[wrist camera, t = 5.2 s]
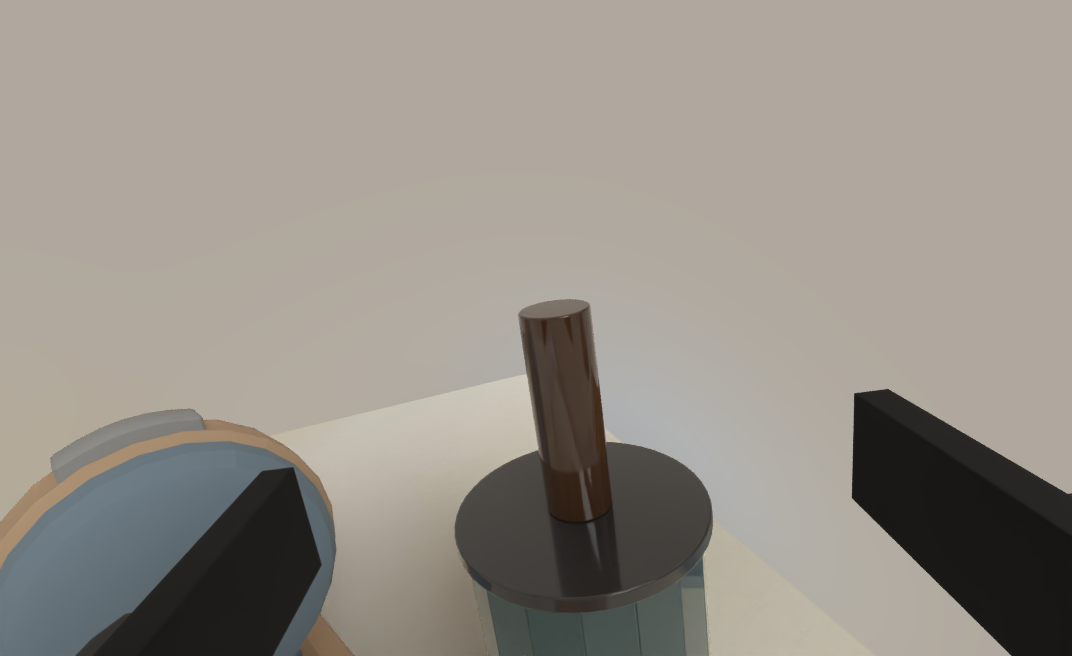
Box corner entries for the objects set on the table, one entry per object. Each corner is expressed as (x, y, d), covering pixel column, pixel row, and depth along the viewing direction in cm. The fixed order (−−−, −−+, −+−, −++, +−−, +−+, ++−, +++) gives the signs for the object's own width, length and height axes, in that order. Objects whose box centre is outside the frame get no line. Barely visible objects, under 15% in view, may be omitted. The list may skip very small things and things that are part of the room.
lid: (752, 497, 22) (745, 278, 20) (628, 686, 15) (592, 375, 12) (559, 446, 28) (535, 276, 26) (407, 560, 21) (354, 339, 19)
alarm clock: (330, 601, 37) (258, 357, 32) (402, 684, 30) (325, 387, 25) (61, 771, 27) (-94, 464, 23) (74, 950, 20) (-147, 559, 16)
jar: (748, 721, 25) (738, 487, 22) (655, 939, 18) (621, 651, 15) (586, 635, 31) (559, 441, 28) (472, 777, 24) (418, 544, 21)
